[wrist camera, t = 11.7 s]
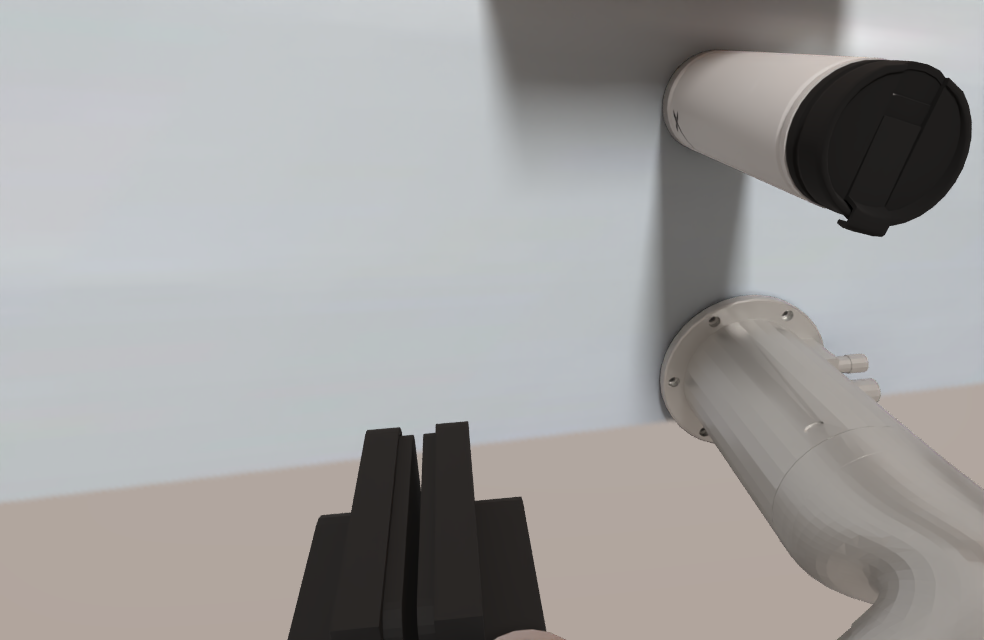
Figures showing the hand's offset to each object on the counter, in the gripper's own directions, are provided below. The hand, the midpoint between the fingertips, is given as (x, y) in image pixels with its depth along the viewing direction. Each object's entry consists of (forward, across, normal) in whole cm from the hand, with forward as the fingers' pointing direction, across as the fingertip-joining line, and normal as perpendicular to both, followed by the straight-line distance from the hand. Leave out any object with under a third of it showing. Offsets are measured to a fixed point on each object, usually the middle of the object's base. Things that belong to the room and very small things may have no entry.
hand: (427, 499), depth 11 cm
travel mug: (+35, -18, -2) cm, 40 cm away
